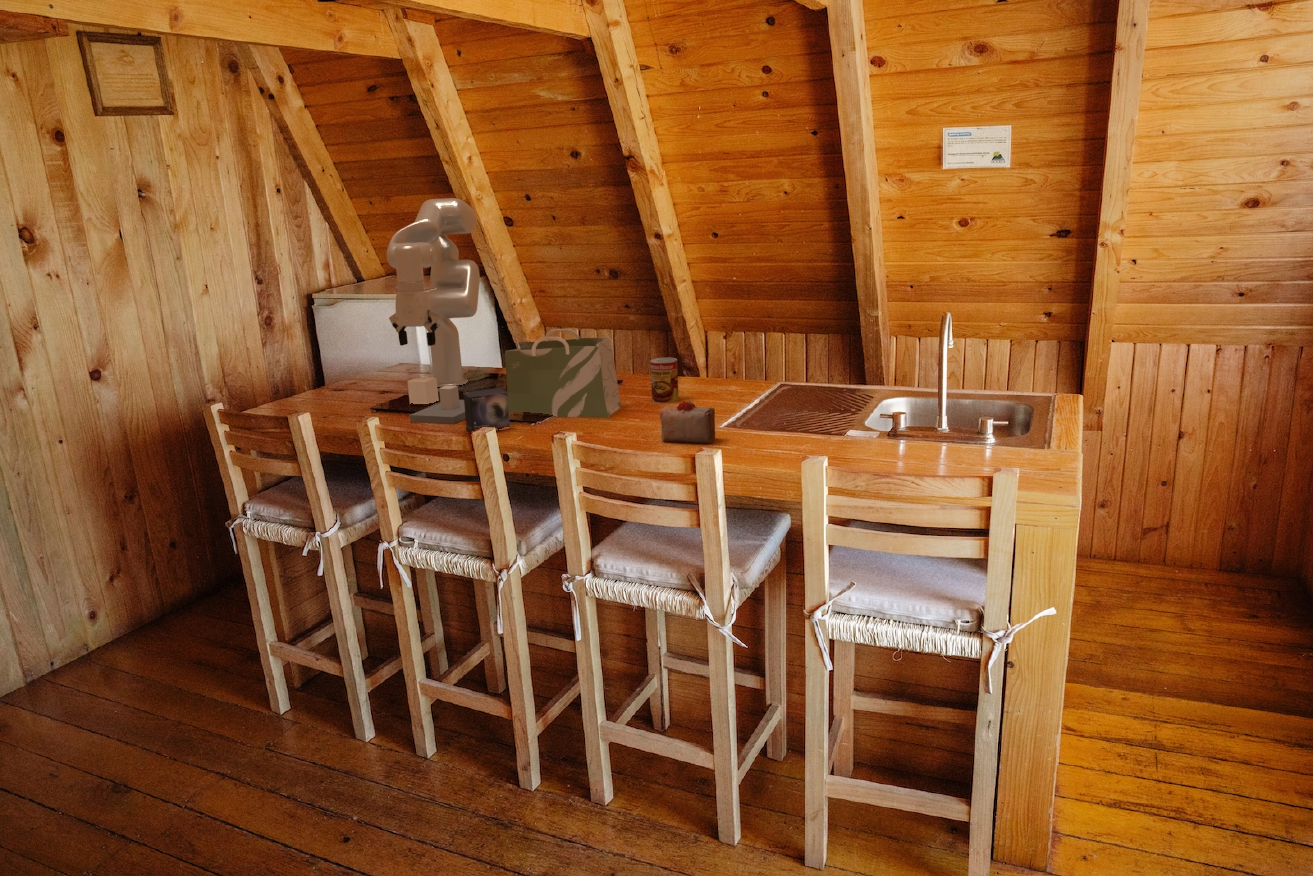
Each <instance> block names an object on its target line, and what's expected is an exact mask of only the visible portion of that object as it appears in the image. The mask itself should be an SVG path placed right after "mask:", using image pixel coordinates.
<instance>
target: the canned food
mask: <svg viewBox="0 0 1313 876" xmlns="http://www.w3.org/2000/svg"><path fill="white" fill-rule="evenodd" d="M649 366H650V382H651V383H650V387H651V401H652V403H656V404H670V403H671V404H672V403H676V402H678V401H679V374H678V359H677V358H676V357H675V358H674V357H657V358H652V359H650V361H649Z"/></svg>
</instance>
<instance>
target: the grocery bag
mask: <svg viewBox="0 0 1313 876" xmlns="http://www.w3.org/2000/svg"><path fill="white" fill-rule="evenodd" d="M560 332H561V333H562V332H563V333H569V334H571V335H573V336H574V337H575V338H572V339H571V338H570V339H564V338H562V337H560V336H552V334H555V333H560ZM550 335H551V336H550ZM517 347H518V348H515V349H509V350H504V356H505V375H506V387H507V394H508V409H509V412H530V413H543V414H549V415H553V416H556V417H555V418H598V419H599V418H600V419H609V418H610V417H611V416H612V415H613V414H614V413H615V412H617V411H618V410H619V409H621V407H622V406H621V399H620V398H621V397H620V391H619V384H618V377H617V371H616V367H615V366H616V365H615V359H614V354H613V351H612V345H611V342H610V337H582V338H580V335H579V334H578V333H577V331H575V330H573V329H570V328H560V329H558V328H557V329H555V328H554V329H551V330H549V331H548V332H546V334H545V336H541V337H540V338H538V339H537V340H535V341H523V342H521V341H519V342H517Z"/></svg>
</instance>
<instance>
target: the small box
mask: <svg viewBox="0 0 1313 876" xmlns="http://www.w3.org/2000/svg"><path fill="white" fill-rule="evenodd" d="M507 393H508V391H506V390H504V389H503V388H502V387H496V388H489V389H482V390H481V389H480V390H472V391H467V392H463V400H464V405H465V418H466V419H465V430H466V431H468V432H469V434H471V432H472V431H475V430H476V429H479V428H482V427H495V428H497V429H498V431H497V432H500V431H499V429H502V428H504V427H510V428H511V425H510V424H511V422H510V415H509V409H508V394H507Z"/></svg>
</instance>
